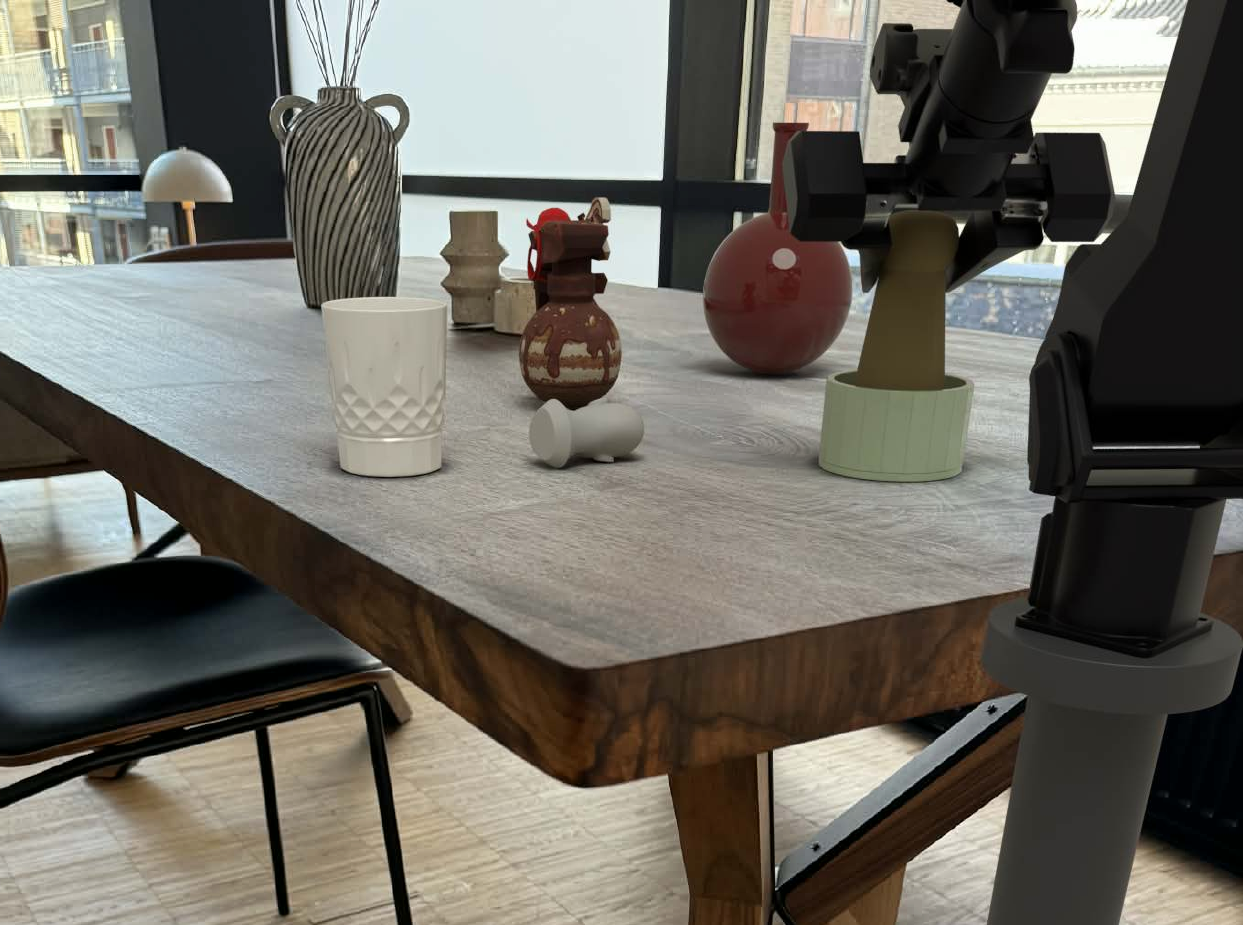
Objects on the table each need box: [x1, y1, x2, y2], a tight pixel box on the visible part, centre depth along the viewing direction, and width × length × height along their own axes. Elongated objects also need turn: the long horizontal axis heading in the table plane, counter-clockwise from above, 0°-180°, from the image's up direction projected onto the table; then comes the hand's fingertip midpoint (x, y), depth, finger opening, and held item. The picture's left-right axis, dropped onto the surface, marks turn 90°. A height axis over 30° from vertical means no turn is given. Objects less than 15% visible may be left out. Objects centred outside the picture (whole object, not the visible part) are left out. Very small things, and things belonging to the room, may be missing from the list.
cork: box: [854, 209, 960, 391], centre depth 92 cm, size 6×6×11 cm
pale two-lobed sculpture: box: [528, 397, 645, 469], centre depth 97 cm, size 4×8×5 cm
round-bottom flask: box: [702, 122, 854, 375], centre depth 127 cm, size 13×13×20 cm
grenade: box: [518, 197, 623, 409], centre depth 113 cm, size 9×8×15 cm
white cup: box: [320, 296, 448, 478], centre depth 93 cm, size 8×8×10 cm
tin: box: [818, 369, 976, 483], centre depth 96 cm, size 9×9×6 cm
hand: (905, 286), depth 93 cm, fingers closed on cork, 5 cm apart
